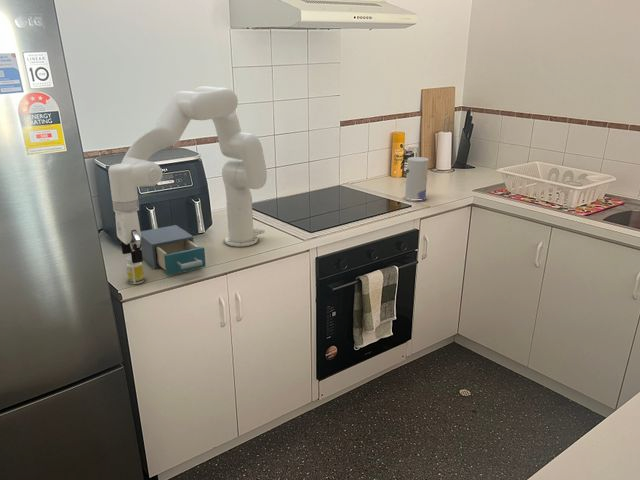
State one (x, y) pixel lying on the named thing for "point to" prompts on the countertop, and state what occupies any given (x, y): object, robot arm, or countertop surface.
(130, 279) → the supplement bottle
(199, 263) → the drawer
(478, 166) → the countertop surface
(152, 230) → the drawer cabinet
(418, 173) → the container
